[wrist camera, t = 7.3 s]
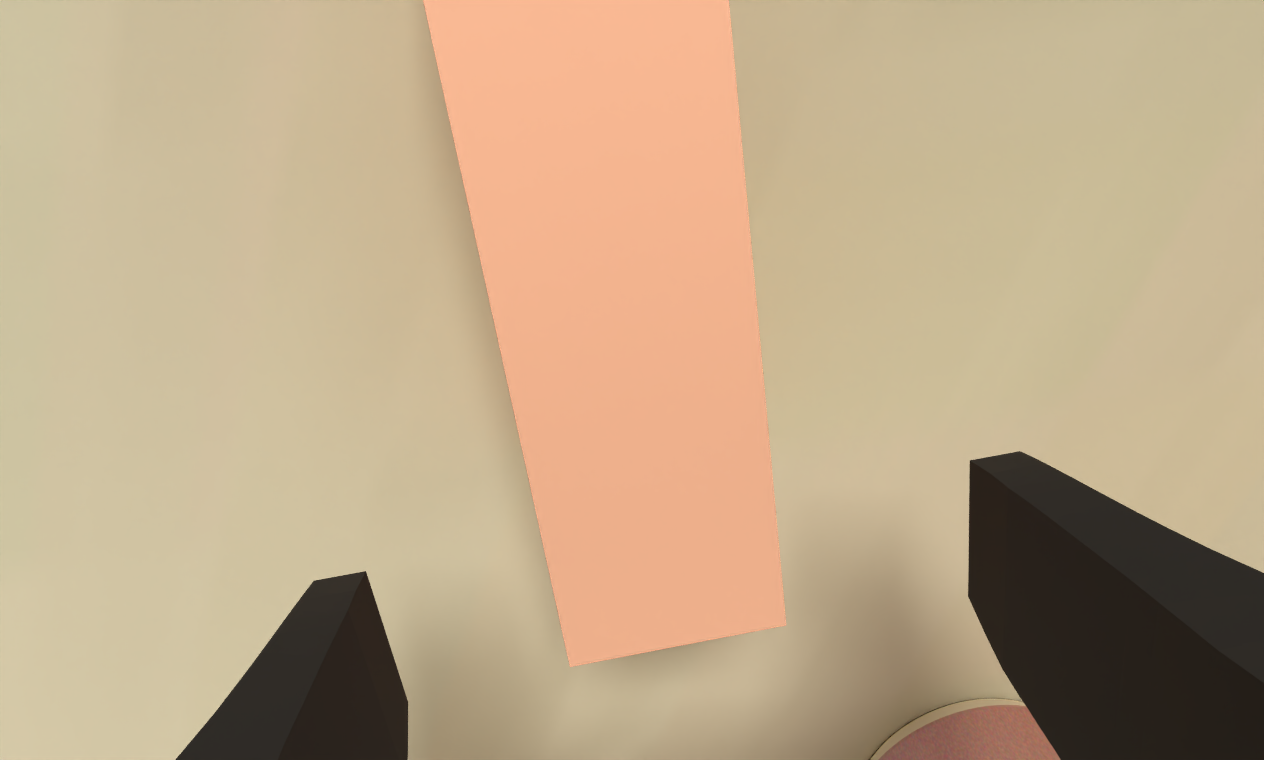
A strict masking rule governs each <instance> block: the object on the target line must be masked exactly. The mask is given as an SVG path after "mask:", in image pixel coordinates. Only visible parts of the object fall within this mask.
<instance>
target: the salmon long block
mask: <svg viewBox="0 0 1264 760" xmlns="http://www.w3.org/2000/svg"><path fill="white" fill-rule="evenodd" d="M423 2H424V6H425V11H426V15H427V20H428V24H429V29H430V33H431V38H432V43H433V47H434V52H435V56H436V61H437V65H438V70H439V74H440V79H441V83H442V88H443V92H444V97H445V102H446V106H447V111H448V115H449V120H450V124H451V129H452V133H453V138H454V142H455V147H456V152H457V156H458V161H459V165H460V170H461V174H462V179H463V183H464V188H465V192H466V197H467V201H468V206H469V211H470V215H471V220H472V224H473V229H474V233H475V238H476V242H477V247H478V251H479V256H480V261H481V265H482V270H483V274H484V279H485V283H486V288H487V292H488V297H489V301H490V306H491V311H492V315H493V320H494V324H495V329H496V333H497V338H498V342H499V347H500V351H501V356H502V360H503V365H504V370H505V374H506V379H507V383H508V388H509V392H510V397H511V401H512V406H513V410H514V415H515V420H516V424H517V429H518V433H519V438H520V442H521V447H522V451H523V456H524V460H525V465H526V470H527V474H528V479H529V483H530V488H531V492H532V497H533V501H534V506H535V510H536V515H537V519H538V524H539V529H540V533H541V538H542V542H543V547H544V551H545V556H546V560H547V565H548V569H549V574H550V579H551V583H552V588H553V592H554V597H555V601H556V606H557V610H558V615H559V619H560V624H561V629H562V633H563V638H564V642H565V647H566V651H567V656H568V660H569V665H570V667H573V666H578V665H583V664H588V663H593V662H599V661H604V660H609V659H614V658H619V657H624V656H630V655H635V654H640V653H645V652H650V651H656V650H661V649H666V648H671V647H676V646H682V645H687V644H692V643H697V642H702V641H708V640H713V639H718V638H723V637H728V636H733V635H739V634H744V633H749V632H754V631H759V630H765V629H770V628H775V627H780V626H785V625H786V617H785V606H784V595H783V584H782V573H781V562H780V552H779V541H778V530H777V519H776V508H775V497H774V486H773V476H772V465H771V454H770V443H769V432H768V421H767V410H766V399H765V389H764V378H763V367H762V356H761V345H760V334H759V323H758V313H757V302H756V291H755V280H754V269H753V258H752V247H751V237H750V226H749V215H748V204H747V193H746V182H745V171H744V161H743V150H742V139H741V128H740V117H739V106H738V95H737V85H736V74H735V63H734V52H733V41H732V30H731V19H730V8H729V0H423Z"/></svg>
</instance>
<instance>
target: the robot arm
mask: <svg viewBox="0 0 1264 760" xmlns="http://www.w3.org/2000/svg"><path fill="white" fill-rule="evenodd" d="M968 597H969V599H970V601H971V603H972V606H973V608H974V610H975V612H976V614H977V617H978V619H979V621H980V623H981V625H982V628H983V630H984V632H985V634H986V636H987V638H988V640H989V642H990V645H991V647H992V649H993V651H994V653H995V655H996V657H997V659H998V661H999V663H1000V665H1001V667H1002V669H1003V671H1004V672H1005V674H1006V675H1007V677H1008V679H1009V680H1010V682H1011V683H1012V685H1013V687H1014V688H1015V690H1016V691H1017V693H1018V694H1019V696H1020V698H1021V699H1022V701H1023V702H1024V704H1025V705H1026V707H1027V708H1028V710H1029V712H1030V713H1031V715H1032V716H1033V718H1034V719H1035V721H1036V722H1037V724H1038V726H1039V727H1040V729H1041V730H1042V732H1043V733H1044V735H1045V736H1046V738H1047V739H1048V741H1049V742H1050V744H1051V745H1052V747H1053V749H1054V750H1055V752H1056V753H1057V755H1058V756H1059V758H1060V759H1061V760H1264V573H1262V572H1260V571H1258V570H1256V569H1253V568H1251V567H1249V566H1247V565H1245V564H1242V563H1240V562H1238V561H1236V560H1233V559H1231V558H1229V557H1227V556H1225V555H1222V554H1220V553H1218V552H1216V551H1214V550H1211V549H1209V548H1207V547H1205V546H1203V545H1201V544H1199V543H1197V542H1195V541H1193V540H1191V539H1189V538H1187V537H1185V536H1183V535H1181V534H1179V533H1177V532H1175V531H1173V530H1171V529H1169V528H1167V527H1165V526H1163V525H1161V524H1159V523H1157V522H1155V521H1153V520H1151V519H1149V518H1147V517H1145V516H1143V515H1141V514H1139V513H1137V512H1135V511H1134V510H1132V509H1130V508H1128V507H1126V506H1124V505H1122V504H1120V503H1118V502H1117V501H1115V500H1113V499H1111V498H1109V497H1107V496H1105V495H1103V494H1102V493H1100V492H1098V491H1096V490H1094V489H1092V488H1090V487H1089V486H1087V485H1085V484H1083V483H1081V482H1079V481H1077V480H1076V479H1074V478H1072V477H1070V476H1068V475H1066V474H1064V473H1062V472H1061V471H1059V470H1057V469H1055V468H1053V467H1051V466H1049V465H1047V464H1045V463H1043V462H1041V461H1039V460H1037V459H1035V458H1033V457H1031V456H1029V455H1027V454H1025V453H1023V452H1020V451H1019V452H1014V453H1008V454H1003V455H997V456H992V457H987V458H981V459H976V460H970V495H969V582H968ZM407 758H408V701H407V698H406V694H405V691H404V688H403V685H402V682H401V679H400V676H399V673H398V670H397V666H396V663H395V660H394V657H393V654H392V651H391V648H390V645H389V642H388V639H387V635H386V632H385V629H384V626H383V623H382V620H381V617H380V614H379V611H378V607H377V604H376V601H375V598H374V595H373V592H372V589H371V586H370V583H369V580H368V576H367V573H366V571H365V572H360V573H354V574H349V575H343V576H338V577H332V578H327V579H321V580H316V581H313V583H312V584H311V585H310V587H309V588H308V589H307V590H306V592H305V593H304V594H303V596H302V597H301V598H300V600H299V601H298V602H297V604H296V605H295V606H294V608H293V609H292V610H291V612H290V613H289V615H288V616H287V617H286V619H285V620H284V621H283V623H282V624H281V625H280V627H279V628H278V630H277V631H276V632H275V634H274V635H273V636H272V638H271V639H270V641H269V642H268V643H267V645H266V646H265V647H264V649H263V650H262V651H261V653H260V654H259V656H258V657H257V658H256V660H255V661H254V662H253V664H252V665H251V666H250V668H249V669H248V670H247V672H246V673H245V674H244V676H243V677H242V678H241V680H240V681H239V682H238V683H237V685H236V686H235V687H234V689H233V690H232V691H231V693H230V694H229V695H228V696H227V698H226V699H225V700H224V702H223V703H222V704H221V706H220V707H219V708H218V710H217V711H216V712H215V713H214V715H213V716H212V717H211V718H210V719H209V721H208V722H207V723H206V724H205V725H204V726H203V728H202V729H201V730H200V731H199V732H198V734H197V735H196V736H195V737H194V738H193V740H192V741H191V742H190V743H189V744H188V746H187V747H186V748H185V749H184V750H183V751H182V753H181V754H180V755H179V756H178V757H177V759H176V760H407Z"/></svg>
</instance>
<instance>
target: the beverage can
mask: <svg viewBox="0 0 1264 760" xmlns="http://www.w3.org/2000/svg"><path fill="white" fill-rule="evenodd" d="M870 760H1061V759H1060V758H1059V756H1058V755H1057V753H1056V752H1055V750H1054V749H1053V747H1052V745H1051V744H1050V742H1049V741H1048V739H1047V738H1046V736H1045V735H1044V733H1043V732H1042V730H1041V729H1040V727H1039V726H1038V724H1037V722H1036V721H1035V719H1034V718H1033V716H1032V715H1031V713H1030V712H1029V710H1028V708H1027V707H1026V705H1025V704H1024V702H1020V701H1015V700H1009V699H975V700H969V701H963V702H958V703H955V704H951V705H948V706H945V707H941V708H939V709H936V710H934V711H931V712H929V713H927V714H925V715H923V716H921V717H919V718H917V719H915V720H914V721H912V722H910V723H909V724H907V725H906V726H904V727H903V728H901V729H900V730H899V731H897V732H896V733H895V734H893V735H892V736H891V737H890V738H889V739H888V740H887V741H886V742H885V743H884V744H883V745H882V746H881V747H880V748H879V749H878V750H877V751H876V753H875V754H874V755H873V757H872V758H871V759H870Z"/></svg>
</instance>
